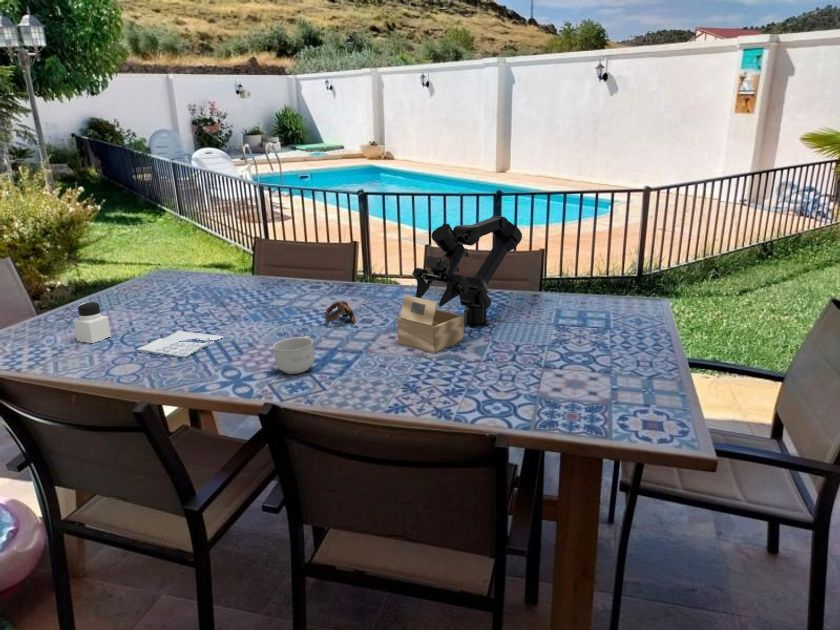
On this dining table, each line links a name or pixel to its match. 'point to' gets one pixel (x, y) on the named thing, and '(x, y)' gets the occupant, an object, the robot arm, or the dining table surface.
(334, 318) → the brown wooden arch
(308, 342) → the teacup
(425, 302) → the flap
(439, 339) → the tan wooden open box
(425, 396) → the dining table surface
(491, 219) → the robot arm
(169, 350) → the white open book
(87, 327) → the medicine bottle
